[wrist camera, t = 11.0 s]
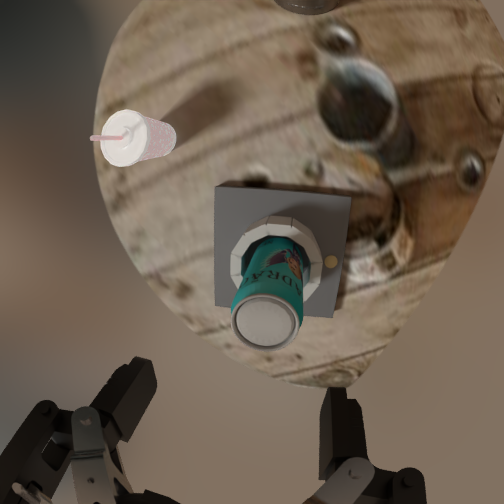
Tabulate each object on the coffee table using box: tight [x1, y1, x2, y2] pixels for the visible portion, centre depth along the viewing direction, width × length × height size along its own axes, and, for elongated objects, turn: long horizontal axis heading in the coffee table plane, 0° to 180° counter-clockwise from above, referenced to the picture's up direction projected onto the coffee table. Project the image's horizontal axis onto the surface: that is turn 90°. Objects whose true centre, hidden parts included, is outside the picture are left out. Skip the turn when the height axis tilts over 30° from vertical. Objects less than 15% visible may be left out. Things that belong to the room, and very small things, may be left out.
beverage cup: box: [90, 109, 176, 167], centre depth 27 cm, size 6×6×14 cm
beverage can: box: [231, 238, 303, 351], centre depth 28 cm, size 6×6×15 cm
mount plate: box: [214, 186, 351, 318], centre depth 33 cm, size 16×16×6 cm
